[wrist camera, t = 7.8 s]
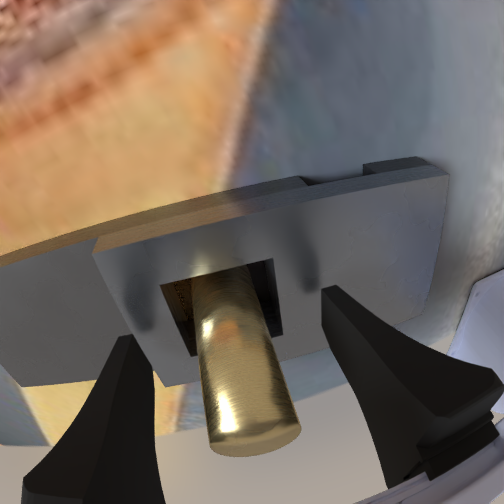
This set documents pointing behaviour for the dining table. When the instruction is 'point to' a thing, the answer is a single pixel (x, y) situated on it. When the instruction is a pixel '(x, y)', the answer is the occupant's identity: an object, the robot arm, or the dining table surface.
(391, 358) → the robot arm
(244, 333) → the pin
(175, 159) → the dining table surface
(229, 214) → the link
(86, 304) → the link
